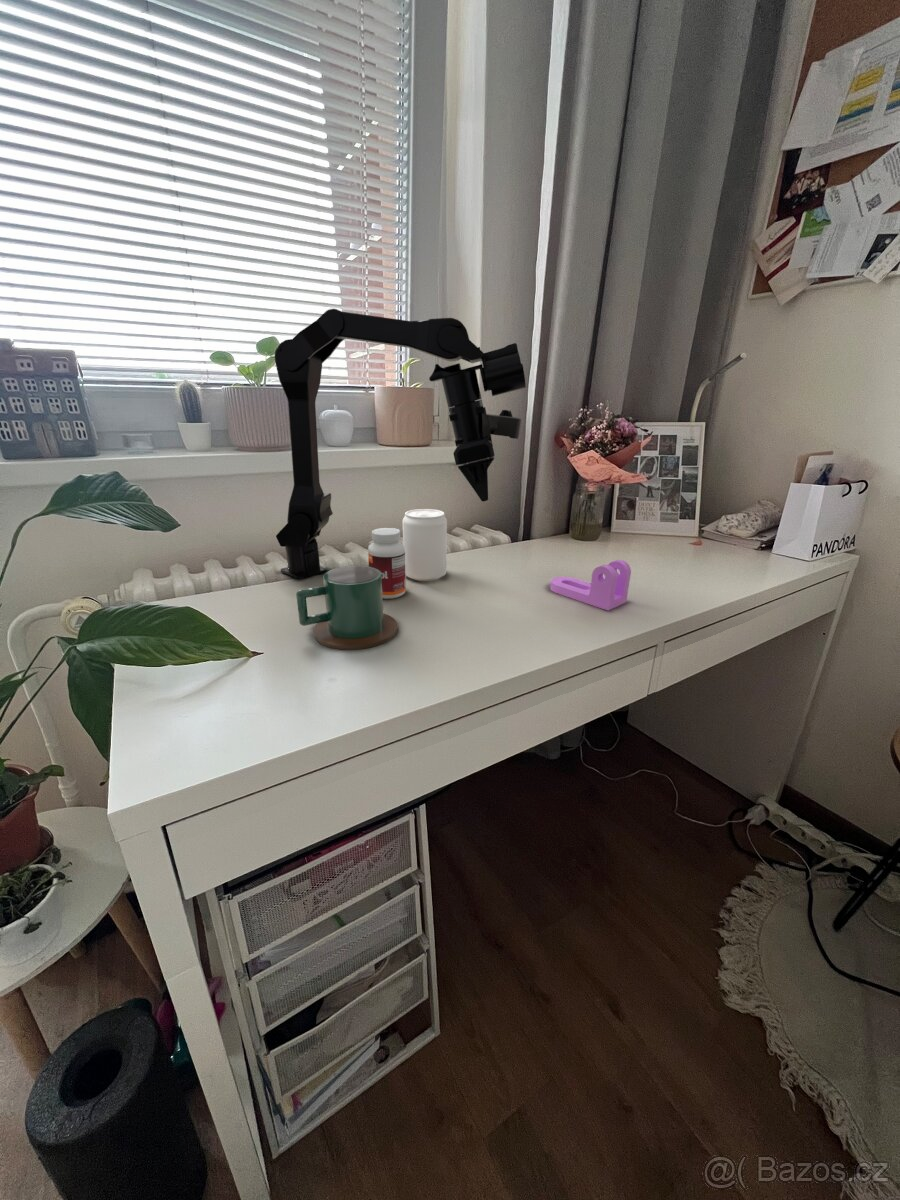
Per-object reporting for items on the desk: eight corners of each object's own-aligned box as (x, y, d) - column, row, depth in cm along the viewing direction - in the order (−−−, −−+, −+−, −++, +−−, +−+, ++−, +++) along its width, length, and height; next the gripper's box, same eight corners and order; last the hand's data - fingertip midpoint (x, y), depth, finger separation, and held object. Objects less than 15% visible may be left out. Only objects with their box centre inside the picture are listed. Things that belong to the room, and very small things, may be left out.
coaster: (297, 630, 73) (297, 627, 73) (363, 607, 81) (363, 604, 81) (347, 658, 65) (347, 654, 65) (414, 629, 74) (414, 626, 73)
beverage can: (448, 569, 99) (449, 509, 95) (443, 583, 92) (444, 518, 87) (407, 567, 100) (406, 507, 95) (400, 581, 93) (398, 517, 88)
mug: (372, 611, 78) (369, 562, 75) (392, 631, 72) (390, 578, 69) (294, 627, 73) (288, 574, 70) (308, 650, 66) (302, 593, 63)
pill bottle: (362, 593, 87) (358, 531, 83) (388, 584, 91) (386, 524, 87) (387, 602, 83) (384, 537, 79) (413, 592, 87) (412, 530, 83)
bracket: (626, 602, 84) (632, 562, 82) (608, 610, 81) (613, 569, 78) (562, 581, 93) (566, 545, 91) (544, 588, 90) (547, 551, 87)
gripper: (516, 391, 74) (535, 495, 79) (510, 391, 91) (525, 476, 96) (442, 410, 75) (466, 511, 81) (450, 407, 93) (469, 490, 98)
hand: (485, 495), depth 89 cm, fingers open, 9 cm apart
